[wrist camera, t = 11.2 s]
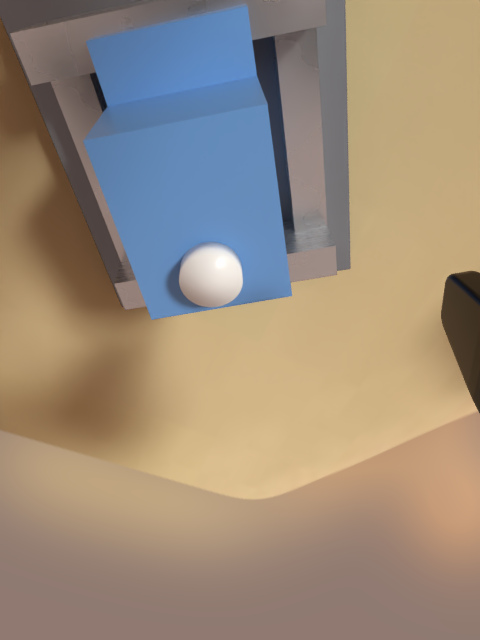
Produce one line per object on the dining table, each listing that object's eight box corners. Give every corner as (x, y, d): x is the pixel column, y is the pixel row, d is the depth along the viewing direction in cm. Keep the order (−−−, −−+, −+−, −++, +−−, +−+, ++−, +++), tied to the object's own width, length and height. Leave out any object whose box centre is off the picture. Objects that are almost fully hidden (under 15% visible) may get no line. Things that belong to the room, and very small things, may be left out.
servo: (241, -3, 13) (258, 22, 8) (275, 238, 18) (300, 349, 13) (108, 26, 13) (44, 68, 8) (178, 256, 18) (164, 371, 13)
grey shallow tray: (334, -114, 13) (368, -135, 10) (345, 256, 20) (365, 303, 17) (-8, -36, 13) (-66, -35, 10) (125, 293, 21) (112, 344, 18)
